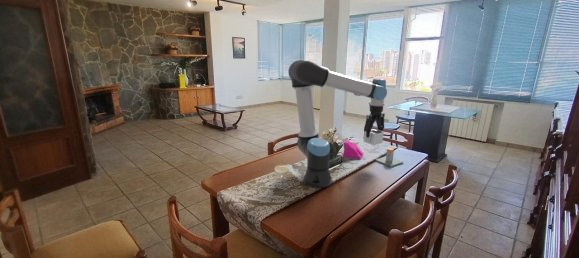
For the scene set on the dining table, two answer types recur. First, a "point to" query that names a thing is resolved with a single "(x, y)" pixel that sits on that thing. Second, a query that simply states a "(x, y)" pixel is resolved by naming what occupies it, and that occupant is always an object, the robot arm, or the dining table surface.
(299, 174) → the dining table surface
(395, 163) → the keeper
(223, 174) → the dining table surface
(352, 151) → the magenta faceted rock
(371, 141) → the white hollow square block
